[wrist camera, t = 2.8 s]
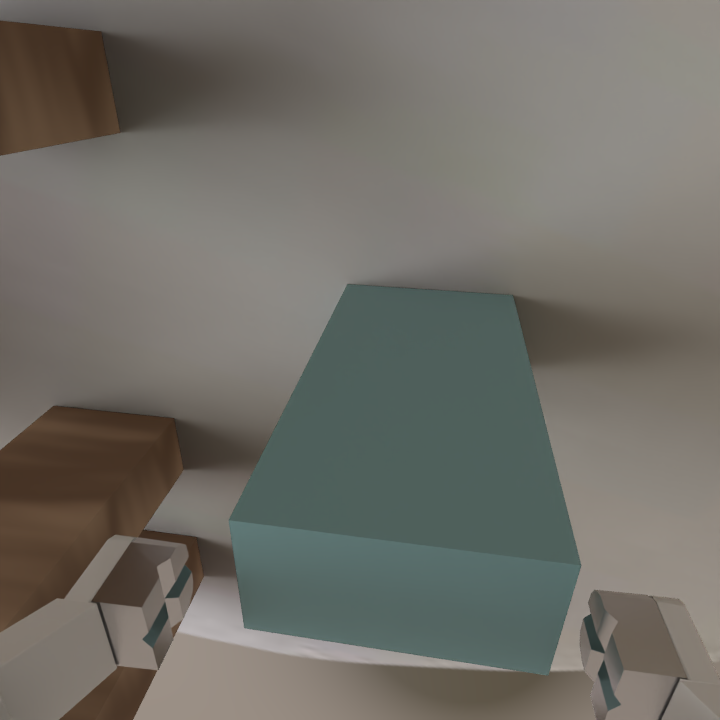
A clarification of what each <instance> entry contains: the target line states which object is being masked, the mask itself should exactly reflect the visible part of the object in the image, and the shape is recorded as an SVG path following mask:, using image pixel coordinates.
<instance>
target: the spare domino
mask: <svg viewBox="0 0 720 720" xmlns="http://www.w3.org/2000/svg"><path fill="white" fill-rule="evenodd" d="M229 526H230V533H231V540H232V546H233V553H234V560H235V567H236V574H237V581H238V588H239V595H240V602H241V608H242V615H243V622H244V628H247V629H253V630H260V631H266V632H272V633H279V634H285V635H292V636H298V637H305V638H311V639H317V640H324V641H330V642H337V643H343V644H349V645H356V646H362V647H369V648H375V649H381V650H388V651H394V652H401V653H407V654H414V655H420V656H426V657H433V658H439V659H446V660H452V661H458V662H465V663H471V664H478V665H484V666H491V667H497V668H503V669H510V670H516V671H523V672H529V673H535V674H542V675H548V674H549V671H550V668H551V664H552V661H553V658H554V654H555V651H556V648H557V645H558V641H559V638H560V635H561V631H562V628H563V625H564V621H565V618H566V615H567V611H568V608H569V605H570V601H571V598H572V595H573V591H574V588H575V585H576V581H577V578H578V575H579V571H580V568H581V563H580V559H579V555H578V551H577V547H576V543H575V539H574V535H573V531H572V527H571V523H570V519H569V515H568V511H567V507H566V503H565V499H564V495H563V491H562V487H561V483H560V480H559V476H558V472H557V468H556V464H555V460H554V456H553V452H552V448H551V444H550V440H549V436H548V432H547V428H546V424H545V420H544V416H543V412H542V408H541V404H540V400H539V396H538V393H537V389H536V385H535V381H534V377H533V373H532V369H531V365H530V361H529V357H528V353H527V349H526V345H525V341H524V337H523V333H522V329H521V325H520V321H519V317H518V313H517V309H516V305H515V302H514V298H513V295H503V294H488V293H473V292H457V291H442V290H427V289H412V288H397V287H382V286H367V285H352V284H347V286H346V288H345V290H344V292H343V294H342V296H341V298H340V300H339V302H338V304H337V306H336V308H335V310H334V312H333V314H332V316H331V318H330V320H329V322H328V324H327V326H326V328H325V330H324V332H323V334H322V336H321V338H320V340H319V342H318V344H317V346H316V348H315V350H314V352H313V354H312V356H311V358H310V360H309V362H308V364H307V366H306V368H305V370H304V372H303V374H302V376H301V378H300V380H299V382H298V384H297V386H296V387H295V389H294V391H293V393H292V395H291V397H290V399H289V401H288V403H287V405H286V407H285V409H284V411H283V413H282V415H281V417H280V419H279V421H278V423H277V425H276V427H275V429H274V431H273V433H272V435H271V437H270V439H269V441H268V443H267V445H266V447H265V449H264V451H263V453H262V455H261V457H260V459H259V461H258V463H257V465H256V467H255V469H254V471H253V473H252V475H251V477H250V479H249V481H248V483H247V485H246V487H245V489H244V491H243V493H242V495H241V497H240V499H239V501H238V503H237V505H236V507H235V509H234V511H233V513H232V515H231V517H230V519H229Z"/></svg>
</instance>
